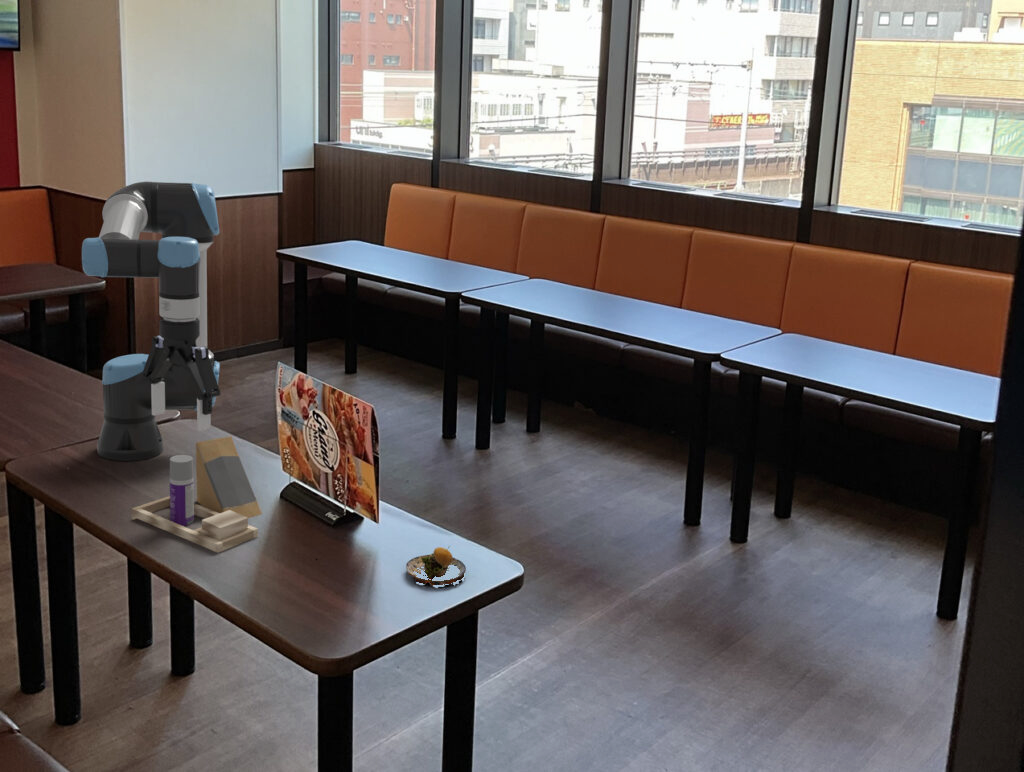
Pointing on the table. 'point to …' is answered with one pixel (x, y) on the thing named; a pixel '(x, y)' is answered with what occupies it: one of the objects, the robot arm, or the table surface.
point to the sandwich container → (223, 479)
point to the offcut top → (224, 523)
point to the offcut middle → (220, 537)
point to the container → (181, 490)
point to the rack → (194, 536)
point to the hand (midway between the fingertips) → (180, 421)
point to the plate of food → (435, 566)
